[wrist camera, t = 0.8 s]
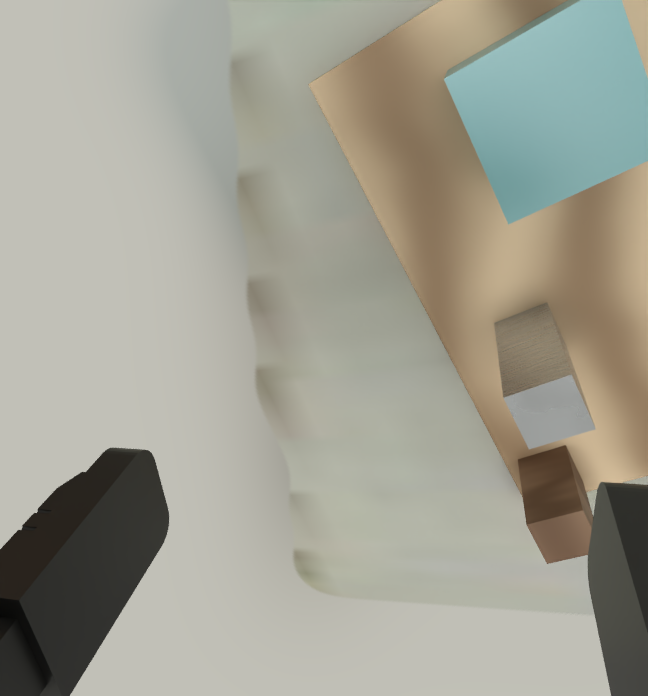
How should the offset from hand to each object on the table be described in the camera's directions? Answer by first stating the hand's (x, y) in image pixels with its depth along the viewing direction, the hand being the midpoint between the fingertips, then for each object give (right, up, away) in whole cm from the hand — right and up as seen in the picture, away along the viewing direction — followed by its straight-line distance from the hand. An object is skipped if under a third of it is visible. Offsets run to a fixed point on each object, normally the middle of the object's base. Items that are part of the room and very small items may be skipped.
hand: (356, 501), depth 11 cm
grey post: (+10, +4, +19) cm, 21 cm away
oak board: (+12, +7, +16) cm, 21 cm away
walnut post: (+12, -4, +22) cm, 25 cm away
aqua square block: (+8, +13, +14) cm, 20 cm away
